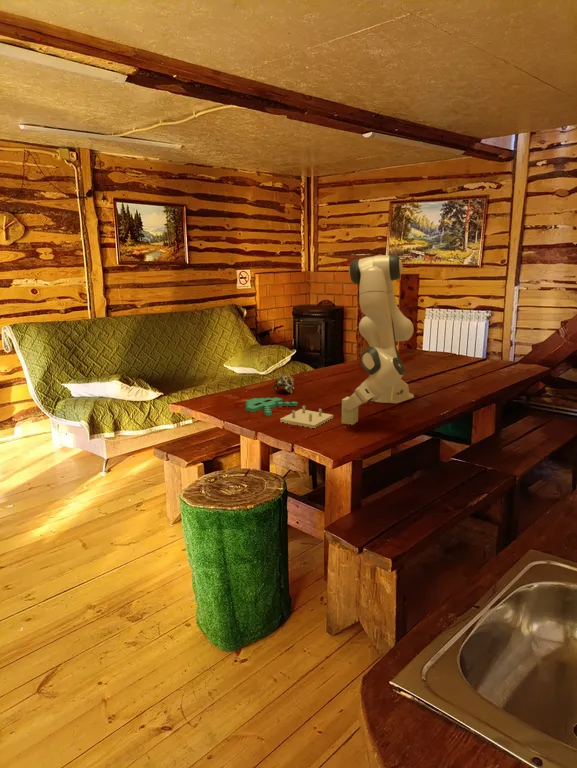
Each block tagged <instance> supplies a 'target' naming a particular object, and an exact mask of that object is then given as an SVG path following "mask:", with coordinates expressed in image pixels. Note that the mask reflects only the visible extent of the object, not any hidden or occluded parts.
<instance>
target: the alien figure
mask: <svg viewBox="0 0 577 768" xmlns="http://www.w3.org/2000/svg"><path fill="white" fill-rule="evenodd" d="M283 399H284V398H282V397H281V398H280V397H276V396H275V397H272V398H271V397H266V398H265V397H260V398H256V397H253V398H251V399H247V400H245V401H244V402H245V404H244V406H245V407H244V408H245V412H248V411H250V412H249V413H252V412H254V413H256V411H257V412H259V411H258V410H260V411H262V410H261V409H263V413H265V414H264V416H265V415H266V416H265V417H268V416H269V417H271V416H270V415H272V416H273V412H272V409H274V408H273V407H275V408H277V407H276V406H279V407H278V408H280V407H281V408H283V407H282V406H287V407H286V408H289V407H288V406H290V407H292V406H296V407H298V406H299V402H297V401H291V402H290V401H285V402H283ZM297 405H298V406H297ZM271 408H272V409H271Z"/></svg>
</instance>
